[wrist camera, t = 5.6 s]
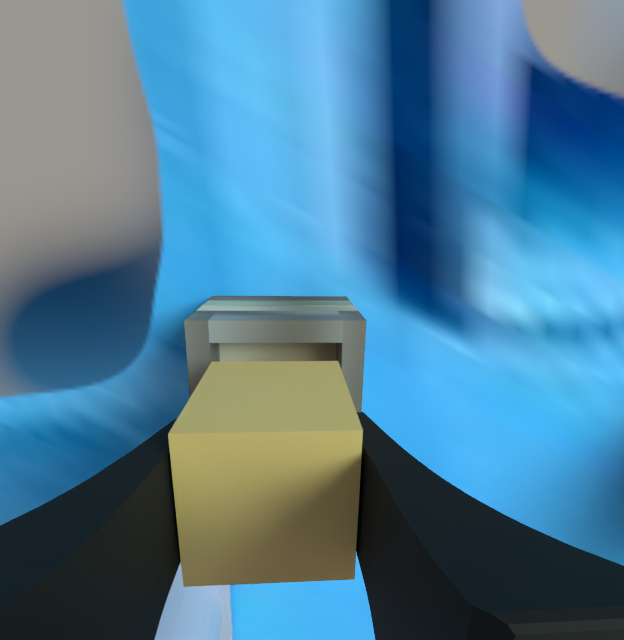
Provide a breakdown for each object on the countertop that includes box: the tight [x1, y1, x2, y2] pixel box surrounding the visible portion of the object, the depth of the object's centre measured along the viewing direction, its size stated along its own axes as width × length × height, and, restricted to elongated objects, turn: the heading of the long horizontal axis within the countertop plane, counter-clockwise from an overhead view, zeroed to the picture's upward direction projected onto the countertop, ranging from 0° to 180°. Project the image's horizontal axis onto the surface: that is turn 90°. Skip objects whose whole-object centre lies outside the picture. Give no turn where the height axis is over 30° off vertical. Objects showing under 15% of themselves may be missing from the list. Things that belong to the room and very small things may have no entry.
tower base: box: [184, 296, 366, 412], centre depth 15 cm, size 6×6×4 cm
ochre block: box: [168, 361, 363, 587], centre depth 10 cm, size 4×4×4 cm
